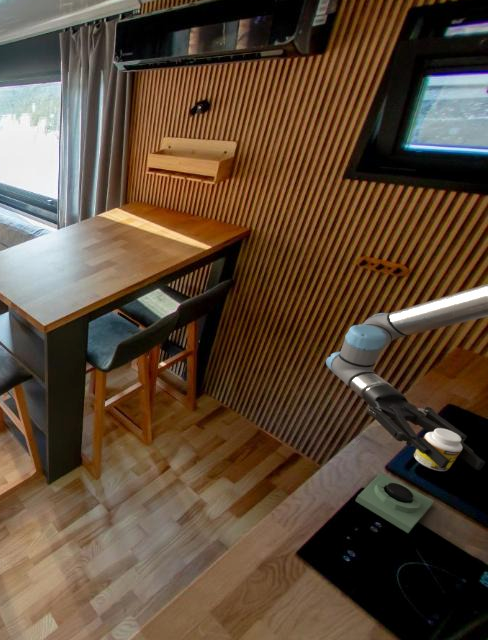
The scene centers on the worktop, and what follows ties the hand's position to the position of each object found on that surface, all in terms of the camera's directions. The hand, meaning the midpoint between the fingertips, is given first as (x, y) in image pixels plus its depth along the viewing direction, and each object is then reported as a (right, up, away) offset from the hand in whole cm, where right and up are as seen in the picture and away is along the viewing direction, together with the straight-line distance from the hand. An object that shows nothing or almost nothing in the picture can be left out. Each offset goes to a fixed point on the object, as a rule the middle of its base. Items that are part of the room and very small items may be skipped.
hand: (462, 465), depth 84 cm
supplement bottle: (+2, -3, +7) cm, 8 cm away
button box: (-10, -13, +6) cm, 17 cm away
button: (-10, -10, +4) cm, 15 cm away
